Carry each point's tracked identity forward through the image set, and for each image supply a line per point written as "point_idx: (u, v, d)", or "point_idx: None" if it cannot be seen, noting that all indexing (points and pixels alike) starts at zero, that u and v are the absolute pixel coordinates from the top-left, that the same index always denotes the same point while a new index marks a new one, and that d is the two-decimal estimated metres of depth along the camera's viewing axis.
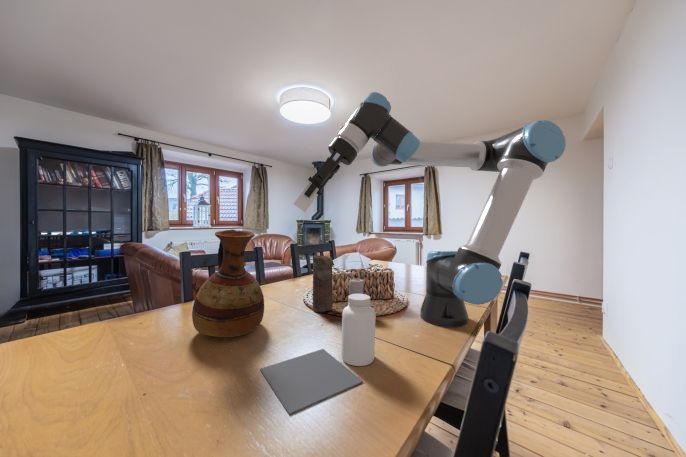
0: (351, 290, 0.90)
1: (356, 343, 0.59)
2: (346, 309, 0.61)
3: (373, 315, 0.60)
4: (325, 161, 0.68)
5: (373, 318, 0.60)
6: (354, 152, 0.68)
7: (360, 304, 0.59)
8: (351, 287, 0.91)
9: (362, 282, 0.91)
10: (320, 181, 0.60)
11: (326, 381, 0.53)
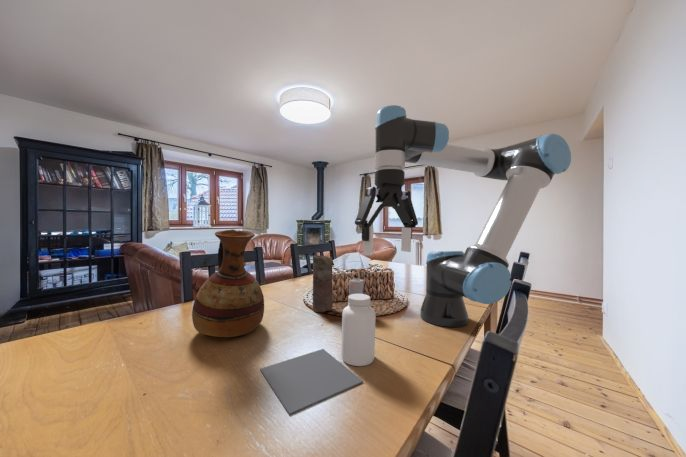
0: (351, 290, 0.90)
1: (356, 343, 0.59)
2: (346, 309, 0.61)
3: (373, 315, 0.60)
4: None
5: (373, 318, 0.60)
6: (390, 171, 0.63)
7: (360, 304, 0.59)
8: (351, 287, 0.91)
9: (362, 282, 0.91)
10: (359, 222, 0.61)
11: (326, 381, 0.53)
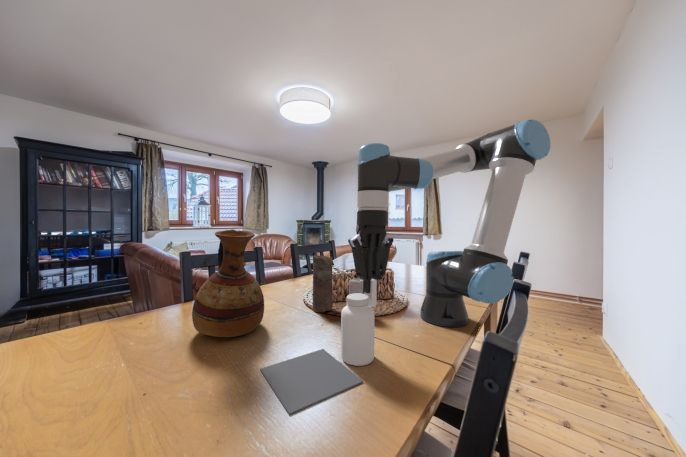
0: (351, 290, 0.90)
1: (355, 343, 0.58)
2: (345, 309, 0.61)
3: (372, 315, 0.60)
4: None
5: (372, 318, 0.60)
6: (371, 213, 0.60)
7: (358, 304, 0.59)
8: (351, 287, 0.91)
9: (362, 282, 0.91)
10: (361, 276, 0.62)
11: (326, 381, 0.53)
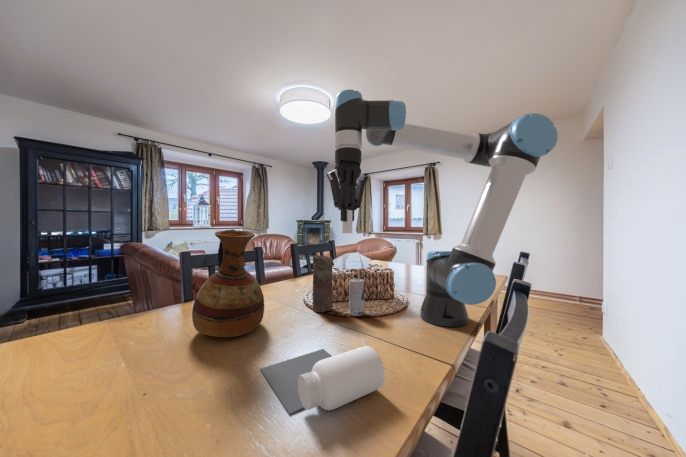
0: (351, 290, 0.90)
1: None
2: (315, 367, 0.47)
3: None
4: None
5: None
6: (346, 149, 0.70)
7: None
8: (351, 287, 0.91)
9: (362, 282, 0.91)
10: (338, 205, 0.71)
11: None
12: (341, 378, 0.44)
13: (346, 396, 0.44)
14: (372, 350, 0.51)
